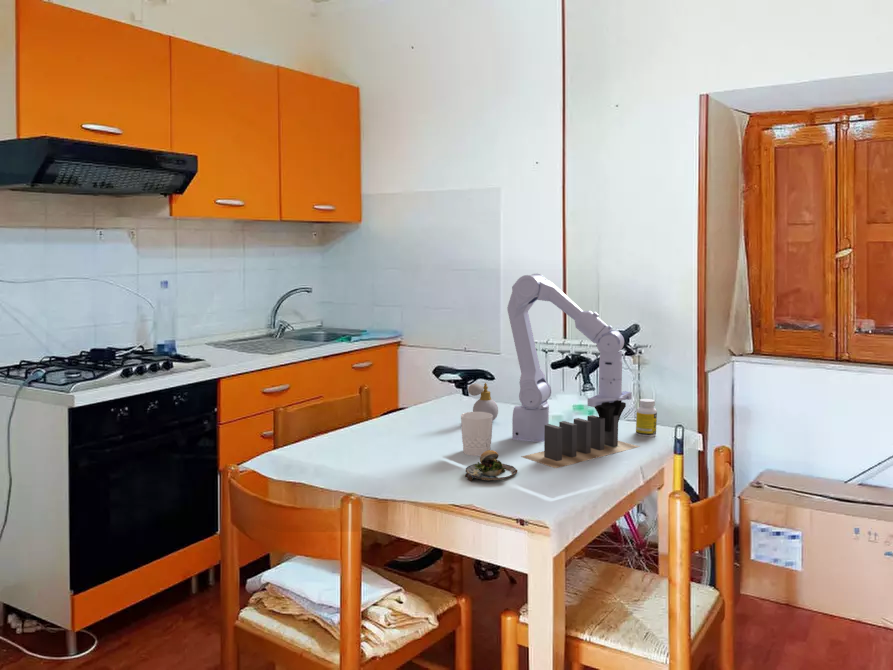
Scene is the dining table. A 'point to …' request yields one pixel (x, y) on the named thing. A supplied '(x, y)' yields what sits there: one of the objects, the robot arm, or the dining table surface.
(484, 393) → the perfume bottle
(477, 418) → the white cup
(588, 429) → the domino
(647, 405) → the supplement bottle
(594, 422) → the domino
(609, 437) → the domino
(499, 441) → the dining table surface
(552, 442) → the domino
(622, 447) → the oak board
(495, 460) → the burger
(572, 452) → the domino
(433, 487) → the dining table surface
